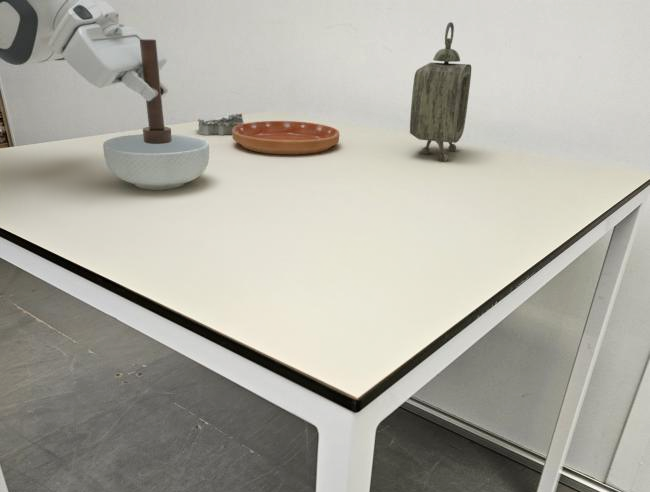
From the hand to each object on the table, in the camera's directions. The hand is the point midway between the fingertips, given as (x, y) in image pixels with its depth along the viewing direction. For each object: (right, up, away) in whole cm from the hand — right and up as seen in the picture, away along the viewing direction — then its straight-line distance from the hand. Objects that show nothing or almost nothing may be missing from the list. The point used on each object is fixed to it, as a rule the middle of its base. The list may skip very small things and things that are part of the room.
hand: (159, 96), depth 95 cm
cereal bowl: (-1, -13, +7) cm, 14 cm away
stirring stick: (-1, -6, +3) cm, 7 cm away
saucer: (+18, +2, +36) cm, 40 cm away
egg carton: (+2, +9, +47) cm, 48 cm away
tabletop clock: (+49, -1, +32) cm, 58 cm away
